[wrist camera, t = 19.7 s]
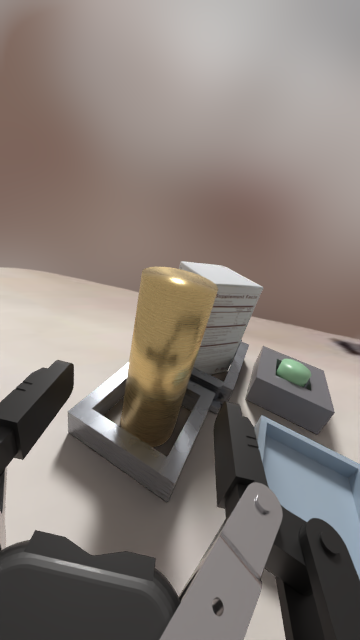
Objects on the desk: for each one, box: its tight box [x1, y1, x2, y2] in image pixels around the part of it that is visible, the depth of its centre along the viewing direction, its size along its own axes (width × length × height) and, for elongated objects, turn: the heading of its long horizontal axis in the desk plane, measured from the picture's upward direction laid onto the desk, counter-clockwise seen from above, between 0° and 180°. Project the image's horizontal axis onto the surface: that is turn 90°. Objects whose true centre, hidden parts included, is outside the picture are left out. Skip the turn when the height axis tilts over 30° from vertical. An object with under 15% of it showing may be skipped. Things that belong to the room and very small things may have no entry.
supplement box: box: [179, 262, 263, 375], centre depth 28 cm, size 7×7×13 cm
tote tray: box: [254, 415, 360, 579], centre depth 17 cm, size 9×9×2 cm
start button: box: [275, 359, 311, 388], centre depth 27 cm, size 3×3×3 cm
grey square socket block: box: [246, 346, 335, 434], centre depth 27 cm, size 8×8×4 cm
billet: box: [120, 267, 218, 447], centre depth 17 cm, size 5×5×14 cm
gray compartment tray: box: [68, 340, 249, 502], centre depth 26 cm, size 12×23×2 cm, turn 155°
